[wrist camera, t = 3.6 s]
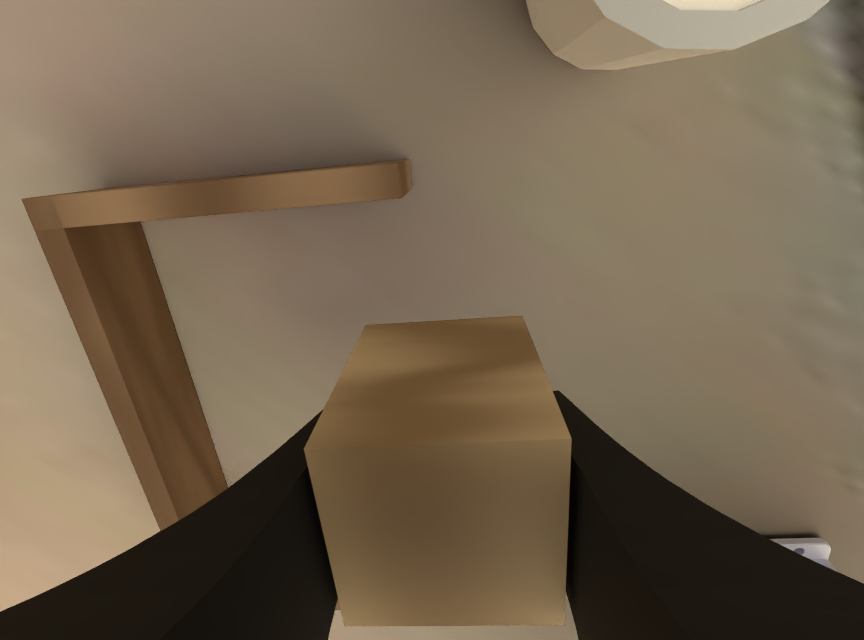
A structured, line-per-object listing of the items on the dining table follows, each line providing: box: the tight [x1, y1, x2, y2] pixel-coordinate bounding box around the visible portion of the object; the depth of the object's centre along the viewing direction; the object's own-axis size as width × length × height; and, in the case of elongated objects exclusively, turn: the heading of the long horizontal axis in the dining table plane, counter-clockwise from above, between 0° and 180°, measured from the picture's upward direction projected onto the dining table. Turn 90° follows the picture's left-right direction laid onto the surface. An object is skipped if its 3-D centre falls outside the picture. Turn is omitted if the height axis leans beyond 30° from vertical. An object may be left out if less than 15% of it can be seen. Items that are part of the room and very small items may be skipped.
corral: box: [22, 159, 412, 610], centre depth 18 cm, size 12×19×4 cm, turn 5°
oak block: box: [304, 316, 572, 626], centre depth 10 cm, size 4×4×5 cm
